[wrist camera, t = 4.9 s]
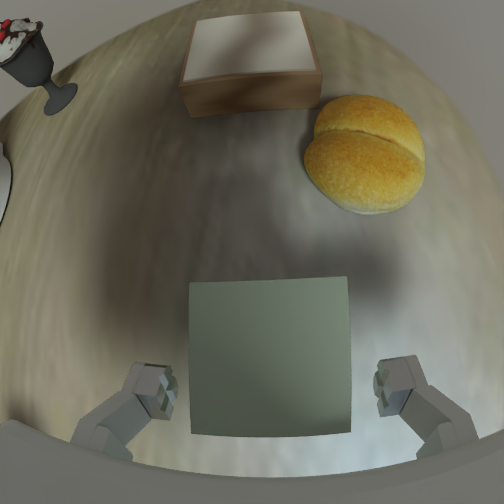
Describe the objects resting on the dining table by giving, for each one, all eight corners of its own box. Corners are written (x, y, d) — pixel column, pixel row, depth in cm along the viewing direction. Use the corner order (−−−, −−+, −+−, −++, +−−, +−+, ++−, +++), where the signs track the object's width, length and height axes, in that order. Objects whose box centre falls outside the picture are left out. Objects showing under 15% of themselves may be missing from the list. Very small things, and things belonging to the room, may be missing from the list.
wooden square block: (192, 120, 22) (177, 85, 18) (202, 51, 25) (193, 19, 21) (318, 111, 21) (322, 72, 17) (303, 42, 24) (303, 9, 20)
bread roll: (291, 200, 19) (292, 167, 15) (323, 105, 21) (326, 68, 18) (411, 238, 18) (437, 214, 14) (421, 136, 20) (439, 104, 16)
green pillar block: (238, 388, 16) (191, 433, 8) (237, 310, 18) (189, 282, 9) (318, 385, 16) (350, 432, 7) (316, 307, 17) (346, 276, 8)
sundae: (58, 124, 24) (-22, 32, 10) (31, 119, 26) (-39, 45, 12) (94, 78, 26) (32, -17, 12) (63, 78, 27) (6, 0, 13)
